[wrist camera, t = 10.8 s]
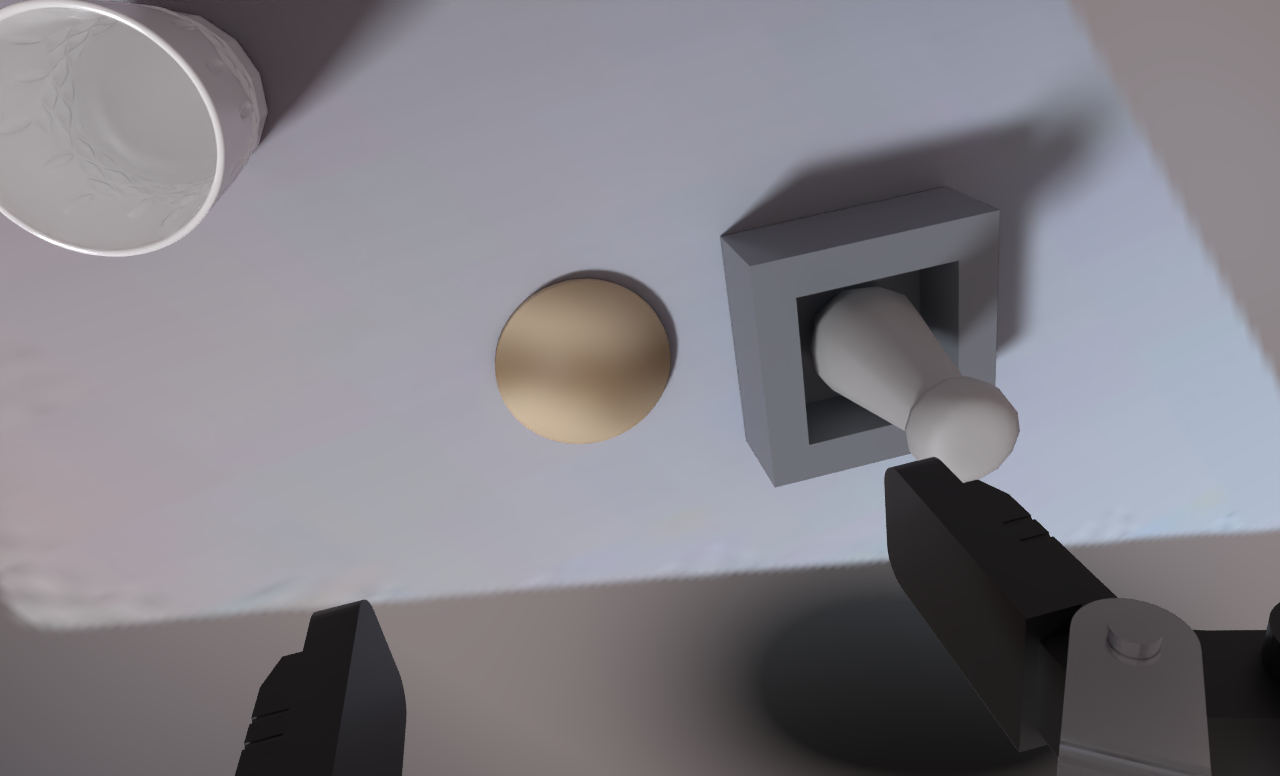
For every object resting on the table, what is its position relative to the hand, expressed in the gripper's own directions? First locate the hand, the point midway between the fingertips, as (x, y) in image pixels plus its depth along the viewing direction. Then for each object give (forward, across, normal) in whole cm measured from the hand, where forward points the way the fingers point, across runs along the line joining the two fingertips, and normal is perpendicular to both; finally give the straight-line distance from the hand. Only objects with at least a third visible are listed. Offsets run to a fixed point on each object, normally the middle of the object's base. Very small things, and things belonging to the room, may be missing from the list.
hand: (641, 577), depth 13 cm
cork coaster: (+30, -1, +10) cm, 32 cm away
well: (+30, -15, +11) cm, 35 cm away
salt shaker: (+29, -15, +11) cm, 35 cm away
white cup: (+30, +13, -6) cm, 34 cm away
